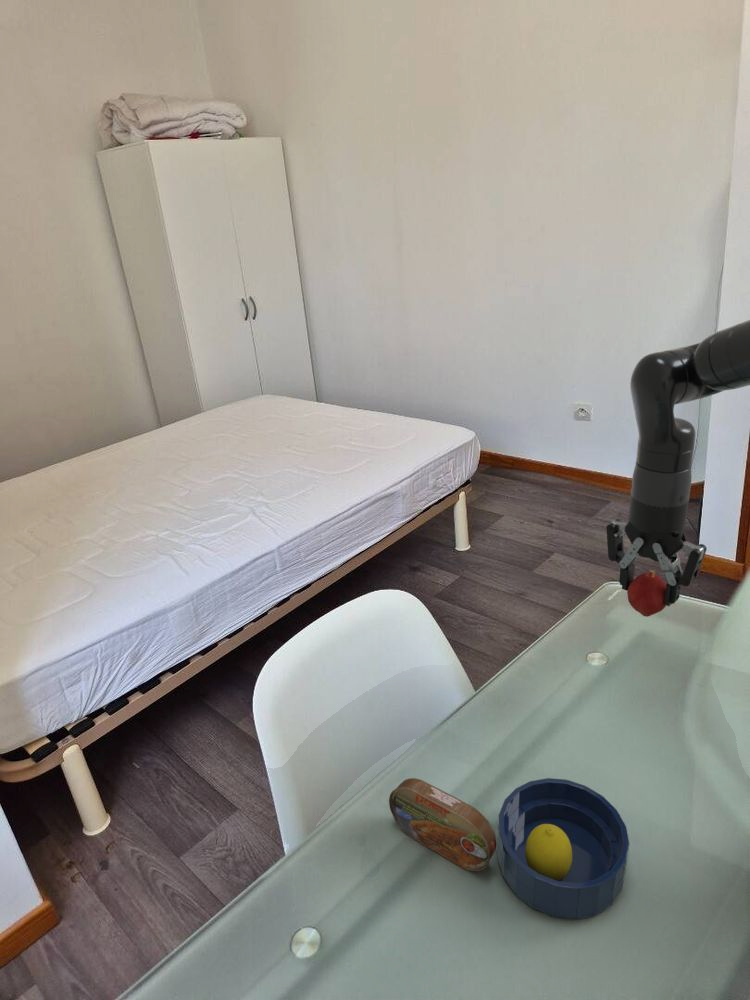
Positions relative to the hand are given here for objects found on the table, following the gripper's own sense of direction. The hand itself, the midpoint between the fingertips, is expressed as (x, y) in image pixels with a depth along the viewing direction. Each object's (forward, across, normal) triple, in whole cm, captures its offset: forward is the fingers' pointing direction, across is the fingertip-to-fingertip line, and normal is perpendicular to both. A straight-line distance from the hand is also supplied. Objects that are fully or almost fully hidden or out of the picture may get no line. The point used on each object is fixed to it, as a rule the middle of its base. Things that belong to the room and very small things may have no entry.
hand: (647, 594), depth 102 cm
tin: (+21, +6, +41) cm, 46 cm away
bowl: (+21, -6, +32) cm, 39 cm away
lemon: (+21, -6, +35) cm, 41 cm away
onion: (+4, 0, 0) cm, 4 cm away
